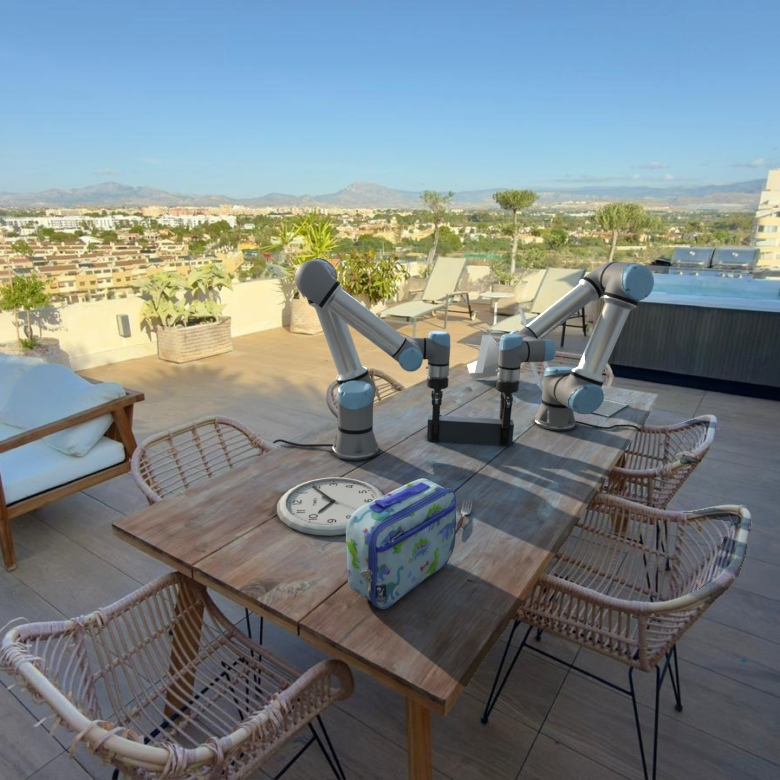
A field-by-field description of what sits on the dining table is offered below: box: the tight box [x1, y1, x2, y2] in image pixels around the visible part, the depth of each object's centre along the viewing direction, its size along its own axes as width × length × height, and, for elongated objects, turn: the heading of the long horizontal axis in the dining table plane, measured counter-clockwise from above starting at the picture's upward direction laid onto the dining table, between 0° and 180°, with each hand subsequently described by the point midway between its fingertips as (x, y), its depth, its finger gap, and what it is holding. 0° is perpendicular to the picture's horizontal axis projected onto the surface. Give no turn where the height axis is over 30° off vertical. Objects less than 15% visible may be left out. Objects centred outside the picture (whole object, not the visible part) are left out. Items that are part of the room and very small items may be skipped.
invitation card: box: [591, 398, 628, 418], centre depth 226 cm, size 21×1×15 cm
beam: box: [426, 414, 515, 447], centre depth 187 cm, size 30×5×8 cm, turn 83°
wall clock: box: [276, 476, 385, 537], centre depth 143 cm, size 30×2×30 cm
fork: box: [455, 498, 473, 536], centre depth 136 cm, size 3×16×2 cm, turn 160°
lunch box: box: [345, 477, 457, 610], centre depth 110 cm, size 26×11×21 cm, turn 134°
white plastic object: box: [467, 307, 550, 393], centre depth 256 cm, size 37×45×31 cm
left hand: (435, 437), depth 189 cm, fingers open, 5 cm apart
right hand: (502, 441), depth 187 cm, fingers closed on beam, 5 cm apart
